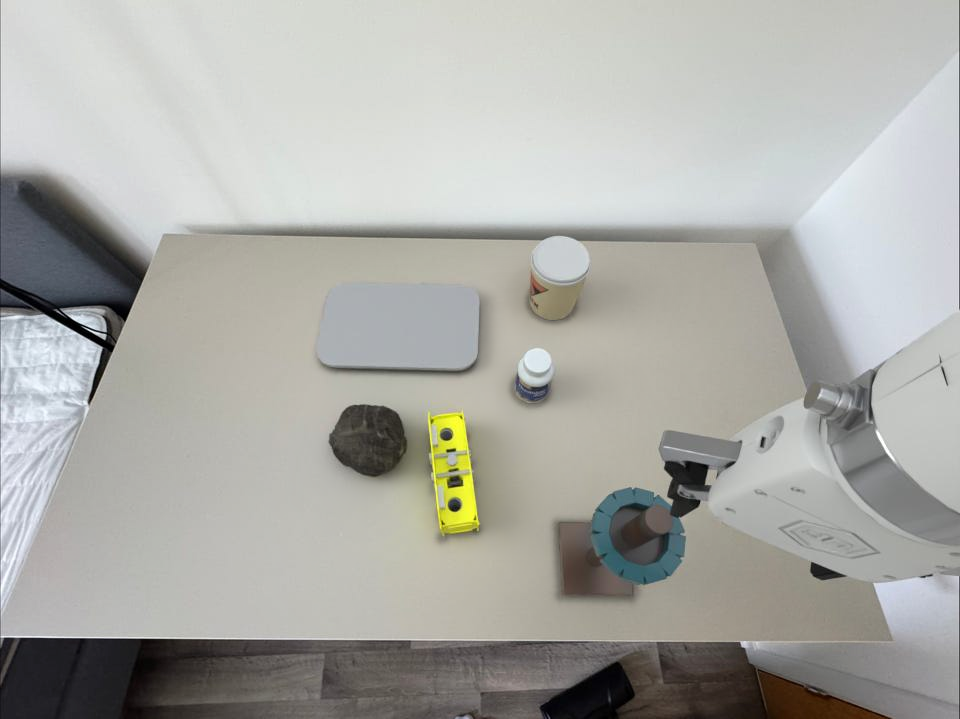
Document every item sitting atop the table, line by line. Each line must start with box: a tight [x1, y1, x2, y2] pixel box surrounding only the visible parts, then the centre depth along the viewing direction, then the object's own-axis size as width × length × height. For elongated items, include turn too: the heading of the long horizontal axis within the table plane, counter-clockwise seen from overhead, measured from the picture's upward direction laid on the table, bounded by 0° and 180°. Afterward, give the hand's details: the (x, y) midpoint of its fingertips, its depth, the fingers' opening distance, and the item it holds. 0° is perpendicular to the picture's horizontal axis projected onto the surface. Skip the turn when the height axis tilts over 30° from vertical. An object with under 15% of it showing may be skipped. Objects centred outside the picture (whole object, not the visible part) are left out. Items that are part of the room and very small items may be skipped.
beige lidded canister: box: [529, 235, 592, 321], centre depth 82 cm, size 9×9×12 cm
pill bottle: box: [514, 347, 555, 404], centre depth 75 cm, size 5×5×10 cm
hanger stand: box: [557, 505, 673, 597], centre depth 55 cm, size 9×9×28 cm
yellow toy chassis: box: [427, 409, 481, 537], centre depth 69 cm, size 16×6×8 cm, turn 8°
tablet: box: [315, 281, 481, 372], centre depth 84 cm, size 16×26×2 cm, turn 88°
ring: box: [590, 486, 687, 586], centre depth 49 cm, size 9×9×2 cm
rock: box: [328, 403, 408, 478], centre depth 71 cm, size 10×11×10 cm
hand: (746, 525), depth 36 cm, fingers open, 9 cm apart
